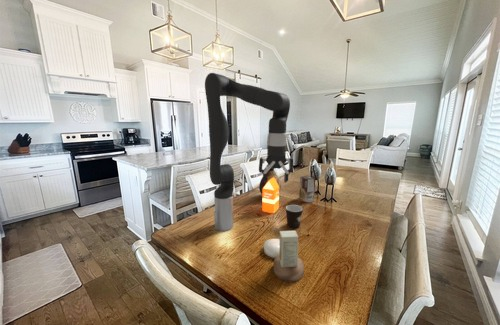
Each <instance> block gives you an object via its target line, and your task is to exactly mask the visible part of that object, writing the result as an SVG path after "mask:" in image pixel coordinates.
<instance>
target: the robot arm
mask: <svg viewBox="0 0 500 325" xmlns="http://www.w3.org/2000/svg"><path fill="white" fill-rule="evenodd" d="M204 90H205V98H206V106H207V115H208V117H207V118H208V136H209V152H210V153H209V156H210V157H209V158H210V159H209V178H210V181H211V183H212V185H214V186H218V185H219V186H218V187H216V189H215V190H214V192H213V194H214V195H213V196H214V197H213V199H214V214H213V216H214V230H217V231H220V232H221V231H222V232H227V231H229V230H230V231H231V229H233V227H234V207H233V206H234V204H233V198H234V197H233V193H234V187H235V186H234V185H235V183H234V182H235V173H234V168H233V167H232V165H231V164H229V163H226V164H222V163H221V162H222V160H221V159H222V155H223V153H224V150H225V148H226V146H227V145H228V142H229V137H230V136H229V135H230V133H229V132H230V131H229V130H230V129H229V123H228V120H227V118H226V116H225V113H224V111H223V109H222V104H221V97H233V98H237V99H240V100H241V101H244V102H246V103H248V104H252V105H255V106H259V107H262V108H263V109H266V110H268V111H271V112H273V113H272V117H271V118H269V121H268V132H267V133H268V134H267V148H266V149H267V151H266V152H267V153H266V154H267V155H266V157H262V156H261V157H259V164H258V172H259V173H261V174H262V177H263V181H264V182H266V179H267V174H266V173H267V172H268V170H270V168H272V169H274V170H275V169H277V170H278V169H279V170H280V169H282V170H283V171H284V175H283V177H284V178H283V182H284V183H287V182H289V174H291V173H294V159H293V158H292V157H288V158H287V157H286V154H287V153H286V152H287V151H286V150H287V120H288V117H289V114H290V109H291V108H290V107H291V101H290V98H289V96H288V95H287V94H285V93H282V92H278V91H273V90H268V89H265V88H262V87H259V86H255V85H252V84H251V85H250V84H246V83H245V84H244V83H240V82H237V81H235V80H232V79H231V78H229V77H227V76H225V75H223V74H219V73H215V72H209V73H208V74H207V76H206V77H205V81H204ZM265 162H266V163H267V165H266V166H265V167H264V168H263V164H265ZM286 163H287V164H288V168H287V167H286V166H285V164H286Z"/></svg>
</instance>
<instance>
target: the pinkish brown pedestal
mask: <svg viewBox="0 0 500 325" xmlns="http://www.w3.org/2000/svg"><path fill="white" fill-rule="evenodd" d="M273 259H274V260H273V273H274V274H275V276H276V277H277V278H278V279H280V280H282V281H284V282H290V283H293V282H299V281H300V280H301V279H302V278H303V277H304V275H305V274H304V273H305V272H304V271H305V264H304V261H303V260H302V258H300V257H299V256H298V266H296V267H281V264H280V260H279V256H277V257H276V258H273Z"/></svg>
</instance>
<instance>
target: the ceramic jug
mask: <svg viewBox="0 0 500 325" xmlns="http://www.w3.org/2000/svg"><path fill="white" fill-rule="evenodd" d="M266 174H267V179H266V182H264V181H263V176H262V177H261V179H260V181H259V184H258V185H259V186H258V187H259V192H260V194H261V195H262V192H263V188H264V186H265V185H266V184H267V182H268V181H269V180H270V179H272V178H273V177H274V178H275V180H276V182H277V183H278V185H279V194H280V193H281V190H282V183H281V180H280V177H279V176H278V174H277V173H276V171H275V169H272V168H270V170H268V172H267V173H266Z"/></svg>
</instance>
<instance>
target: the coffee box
mask: <svg viewBox="0 0 500 325" xmlns="http://www.w3.org/2000/svg"><path fill="white" fill-rule="evenodd" d="M315 187H316V178H314V177H311V176H309V175H304V176H299V192H298V193H299V194H298V196H299V197H298V198H299V199H300V200H302V201H304V203H305V202H306V203H311V202H315Z"/></svg>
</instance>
